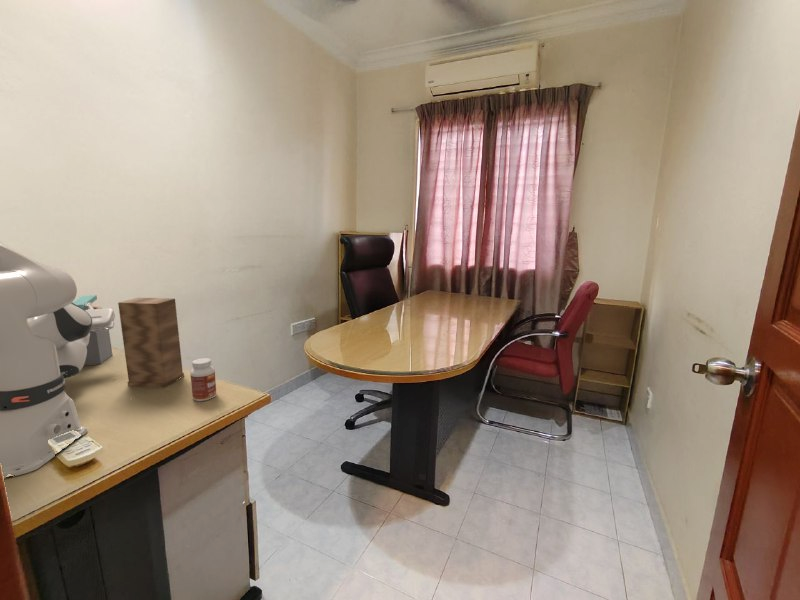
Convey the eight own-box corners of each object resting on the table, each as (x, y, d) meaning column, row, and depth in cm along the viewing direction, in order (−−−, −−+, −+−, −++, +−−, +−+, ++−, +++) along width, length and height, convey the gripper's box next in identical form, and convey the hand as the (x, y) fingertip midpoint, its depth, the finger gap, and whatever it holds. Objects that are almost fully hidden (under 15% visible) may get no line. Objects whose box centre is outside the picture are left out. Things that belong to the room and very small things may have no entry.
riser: (100, 364, 131) (95, 325, 128) (70, 366, 129) (63, 327, 126) (112, 355, 140) (107, 319, 137) (84, 357, 137) (78, 320, 134)
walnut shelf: (127, 385, 114) (116, 302, 109) (149, 374, 123) (139, 297, 118) (165, 387, 113) (155, 304, 108) (184, 375, 122) (176, 298, 117)
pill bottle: (212, 401, 105) (209, 364, 103) (189, 402, 104) (185, 365, 102) (219, 391, 111) (216, 356, 109) (197, 392, 110) (194, 357, 108)
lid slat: (84, 309, 123) (83, 304, 123) (68, 310, 121) (67, 305, 121) (97, 299, 140) (96, 295, 140) (83, 300, 138) (82, 295, 138)
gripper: (111, 323, 119) (115, 295, 128) (24, 330, 109) (34, 300, 118) (115, 336, 122) (118, 309, 131) (31, 345, 113) (41, 314, 122)
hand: (78, 304), depth 125 cm, fingers closed on lid slat, 4 cm apart
